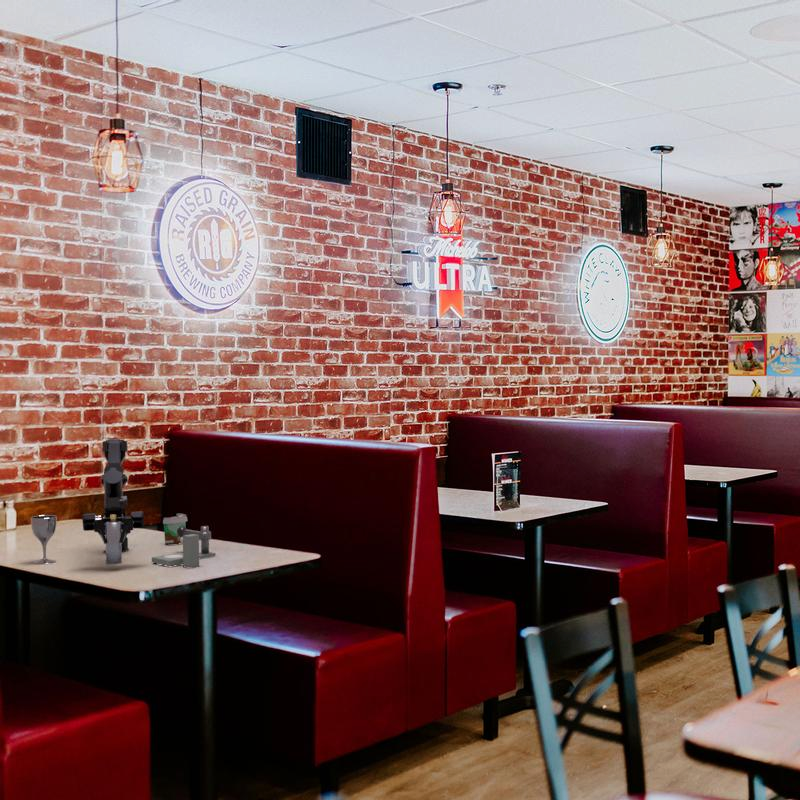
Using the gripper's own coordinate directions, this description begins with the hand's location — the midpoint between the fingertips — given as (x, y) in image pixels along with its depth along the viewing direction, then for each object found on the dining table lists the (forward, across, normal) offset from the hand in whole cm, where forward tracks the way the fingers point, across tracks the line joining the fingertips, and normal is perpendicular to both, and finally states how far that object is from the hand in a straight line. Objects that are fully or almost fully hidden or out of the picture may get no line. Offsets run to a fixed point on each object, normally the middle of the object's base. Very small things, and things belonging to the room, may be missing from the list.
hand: (113, 542), depth 313 cm
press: (+1, +25, +11) cm, 27 cm away
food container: (-26, +22, +40) cm, 52 cm away
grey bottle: (+4, 0, +6) cm, 7 cm away
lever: (-10, +26, +21) cm, 34 cm away
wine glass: (-9, -22, +22) cm, 33 cm away
